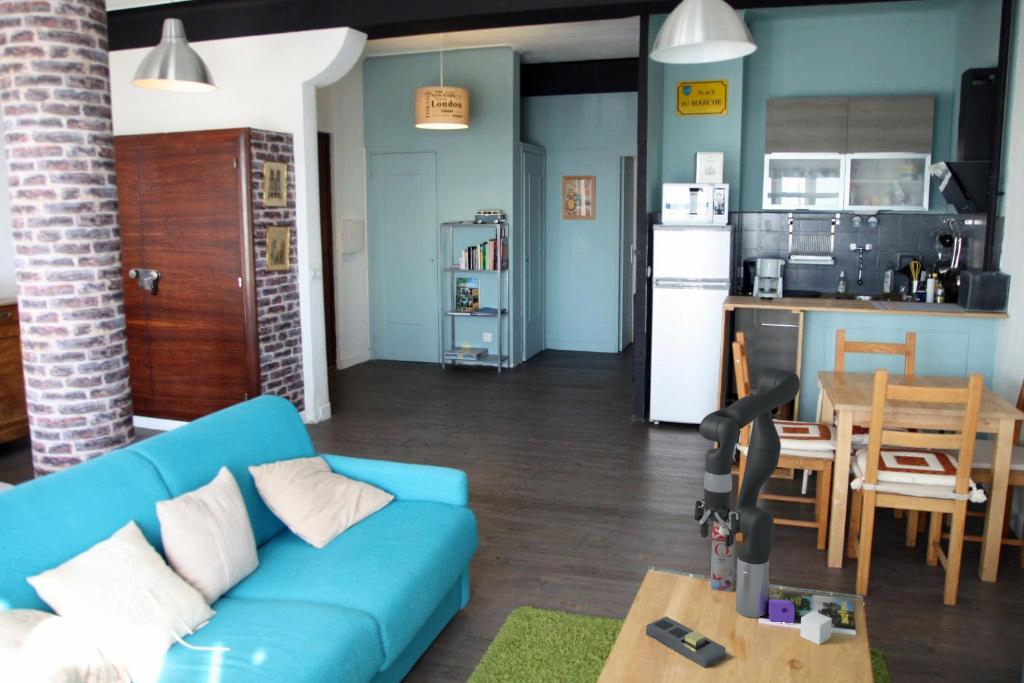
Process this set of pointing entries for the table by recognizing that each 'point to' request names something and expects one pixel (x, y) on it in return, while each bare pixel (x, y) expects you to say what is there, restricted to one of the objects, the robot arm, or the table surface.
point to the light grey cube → (816, 627)
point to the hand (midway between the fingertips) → (716, 541)
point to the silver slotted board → (675, 639)
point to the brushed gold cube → (695, 640)
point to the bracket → (781, 611)
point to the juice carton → (722, 560)
